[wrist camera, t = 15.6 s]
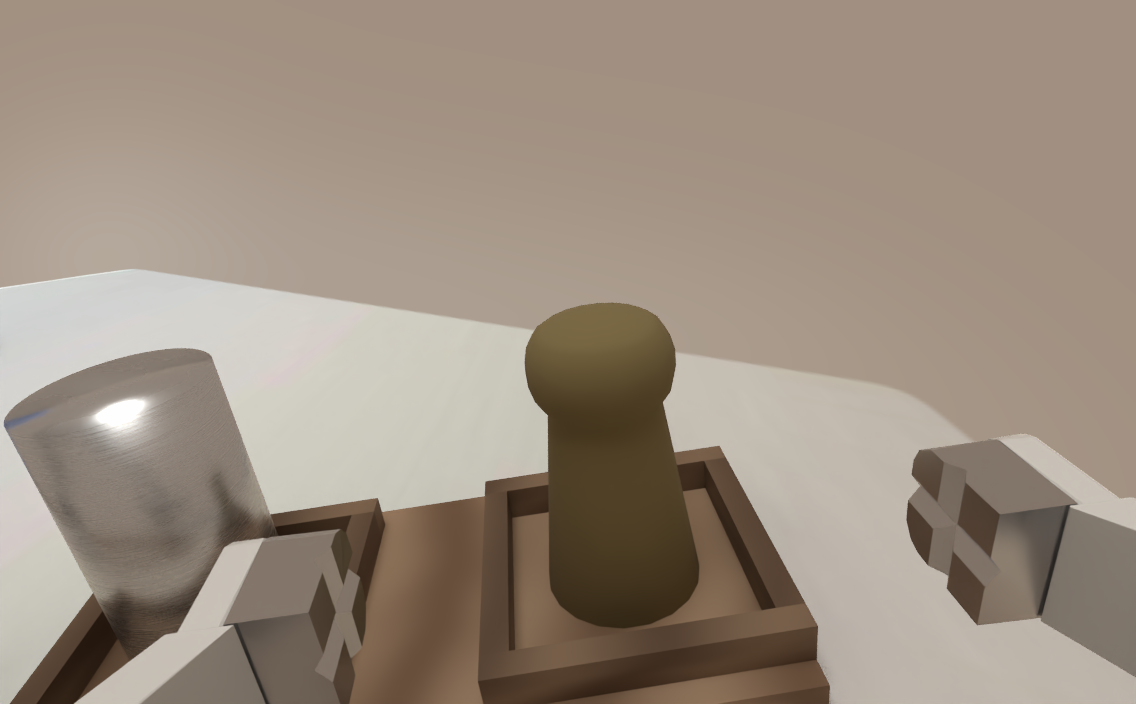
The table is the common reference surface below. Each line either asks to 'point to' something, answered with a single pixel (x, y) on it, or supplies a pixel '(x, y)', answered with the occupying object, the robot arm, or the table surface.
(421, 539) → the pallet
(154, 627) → the steel cylinder
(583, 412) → the cork
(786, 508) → the table surface
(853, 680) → the table surface
